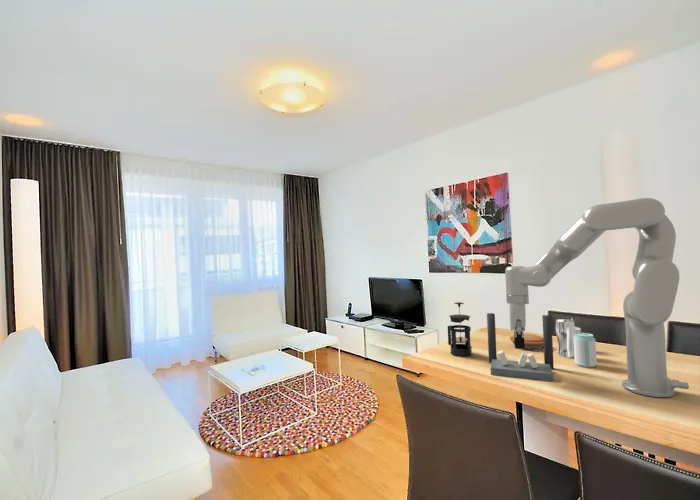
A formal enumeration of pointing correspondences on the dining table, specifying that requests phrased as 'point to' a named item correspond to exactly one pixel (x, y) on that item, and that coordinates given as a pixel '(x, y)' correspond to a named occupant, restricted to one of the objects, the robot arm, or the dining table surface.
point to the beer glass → (565, 337)
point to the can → (585, 350)
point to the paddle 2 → (532, 360)
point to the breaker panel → (522, 370)
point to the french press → (460, 349)
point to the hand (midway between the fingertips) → (519, 345)
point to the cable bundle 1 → (491, 336)
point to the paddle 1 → (502, 357)
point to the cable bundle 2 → (548, 340)
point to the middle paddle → (522, 359)
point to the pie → (531, 342)
